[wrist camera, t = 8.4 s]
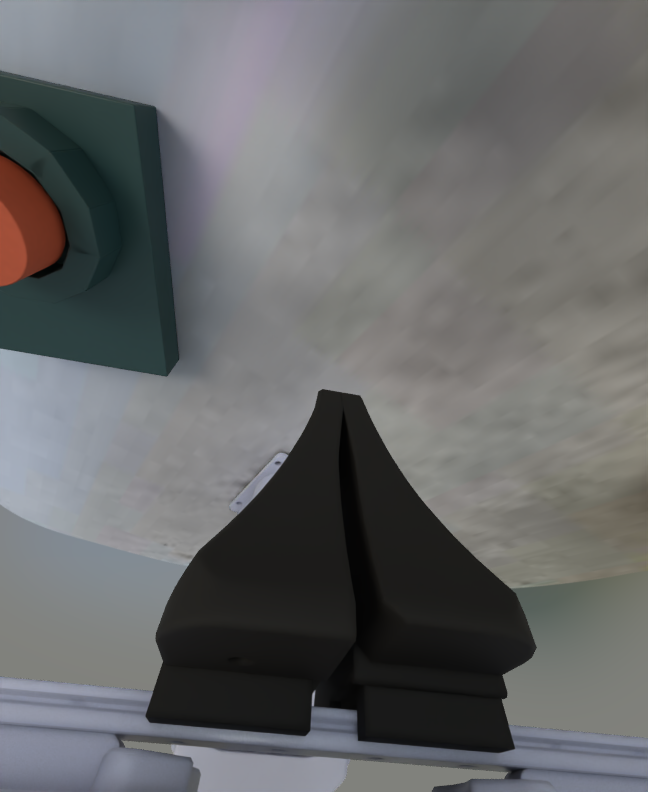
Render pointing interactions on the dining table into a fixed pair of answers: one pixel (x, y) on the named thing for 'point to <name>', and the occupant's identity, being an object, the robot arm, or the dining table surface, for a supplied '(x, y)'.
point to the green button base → (92, 229)
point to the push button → (26, 225)
